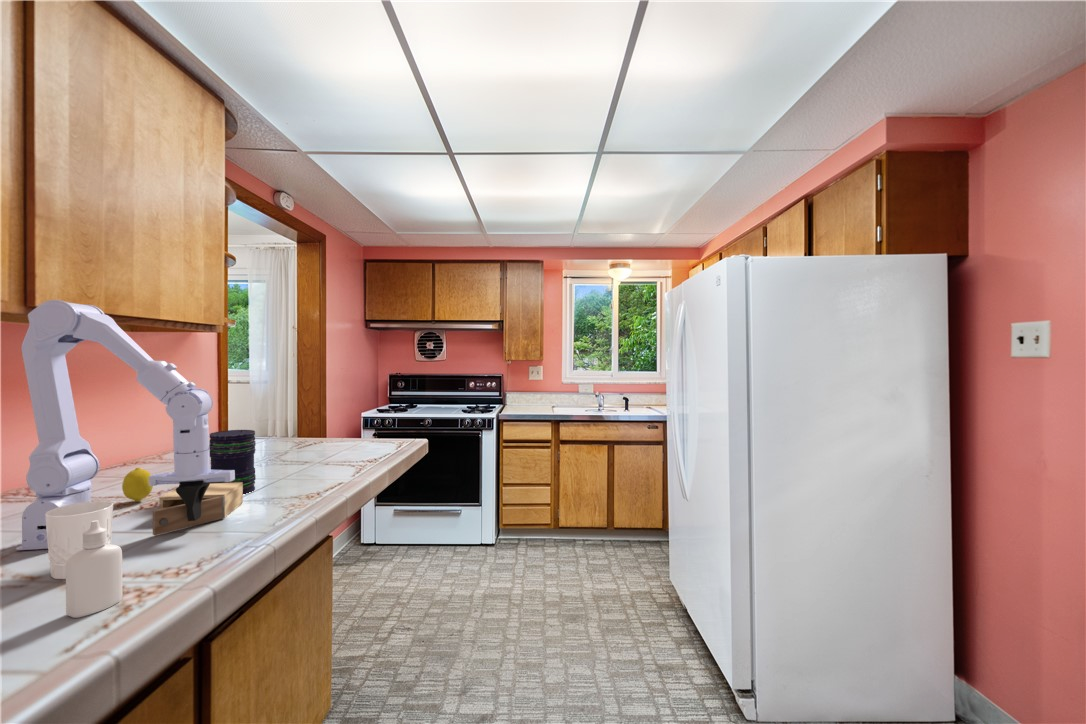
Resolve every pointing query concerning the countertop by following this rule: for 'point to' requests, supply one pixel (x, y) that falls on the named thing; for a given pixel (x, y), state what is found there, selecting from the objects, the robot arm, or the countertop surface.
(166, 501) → the cabinet
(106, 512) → the white cup
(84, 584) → the eye dropper bottle
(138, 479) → the lemon
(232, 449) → the storage jar
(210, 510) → the door
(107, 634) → the countertop surface
